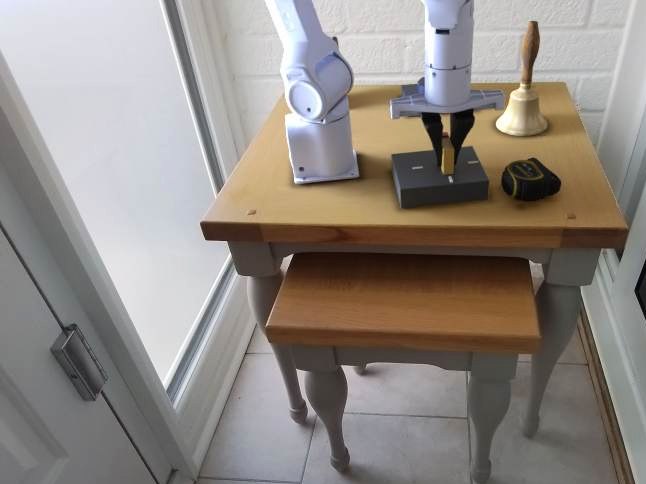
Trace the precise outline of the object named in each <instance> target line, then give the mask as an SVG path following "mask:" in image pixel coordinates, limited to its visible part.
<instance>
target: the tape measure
mask: <svg viewBox="0 0 646 484" xmlns="http://www.w3.org/2000/svg"><path fill="white" fill-rule="evenodd" d="M500 185H501V187H502V190H503V192H504V193H505V194H506V196H508V197H510V198H511V199H513V200H516V201H520V202H526V203H527V202H528V203H529V202H531V203H533V202H539V201H541V200H544V199H545V198H549V197H551V196H555V195H557V194H558V193H559V192H560V191H561V189H562V180H561V178H560V177H559V176H558V175H557V174H556V173H555V172H553V171H552V170H550V169H549V167H546V166H545V165H544V164H543V163H542V162H541V161H540V160H539V159H538V158H536V157H533V156H532V157H530V158H527V159H516V160H513V161H511V162H510V163H508V164H507V165H505V167H504V169H503V171H502V173H501V179H500Z"/></svg>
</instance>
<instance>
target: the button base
mask: <svg viewBox="0 0 646 484" xmlns="http://www.w3.org/2000/svg"><path fill="white" fill-rule="evenodd" d="M423 92H425V76H422V77H420V78H419V79H418V80H417V83H411V84H401V85H400V93H401V94H400V98H402V97H407V96H411V95H415V94H419V93H423ZM441 114H443V113H440V115H441ZM407 117H408V118H409V117H410V118H411V117H412V116H407ZM413 117H421V115H414V116H413Z"/></svg>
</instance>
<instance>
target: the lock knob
mask: <svg viewBox="0 0 646 484" xmlns="http://www.w3.org/2000/svg"><path fill="white" fill-rule="evenodd" d="M441 169H442V172H443V175H446V174H453V172H454V148H453V145H452V142H451V140H450V133H448V131H443V134H442V166H441Z"/></svg>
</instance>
